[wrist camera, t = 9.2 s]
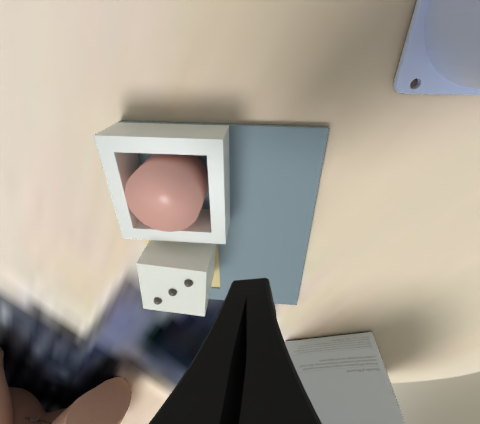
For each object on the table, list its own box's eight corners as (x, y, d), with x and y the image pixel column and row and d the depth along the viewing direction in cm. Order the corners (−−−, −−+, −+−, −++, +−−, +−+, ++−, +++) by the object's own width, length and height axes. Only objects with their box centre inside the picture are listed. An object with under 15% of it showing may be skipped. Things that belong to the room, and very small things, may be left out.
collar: (229, 125, 16) (222, 139, 14) (230, 220, 20) (225, 244, 18) (117, 122, 17) (93, 135, 14) (139, 215, 20) (122, 238, 18)
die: (217, 230, 21) (205, 275, 17) (214, 271, 23) (204, 319, 19) (159, 223, 21) (134, 266, 17) (163, 265, 23) (141, 311, 19)
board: (327, 126, 16) (329, 128, 16) (296, 301, 25) (296, 304, 25) (120, 120, 17) (117, 122, 17) (159, 292, 26) (157, 295, 25)
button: (207, 148, 17) (197, 167, 14) (211, 208, 19) (203, 233, 17) (138, 145, 17) (116, 163, 14) (150, 205, 19) (133, 229, 17)
